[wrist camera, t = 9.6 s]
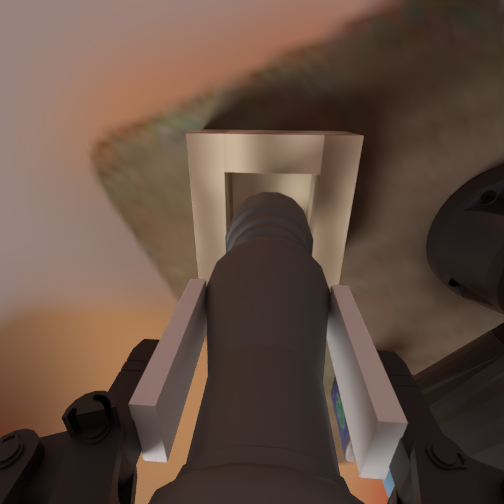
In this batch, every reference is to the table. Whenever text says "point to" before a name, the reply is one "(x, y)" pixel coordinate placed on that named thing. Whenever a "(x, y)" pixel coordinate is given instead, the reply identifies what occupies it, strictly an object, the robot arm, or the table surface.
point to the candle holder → (264, 371)
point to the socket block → (273, 185)
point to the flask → (342, 423)
